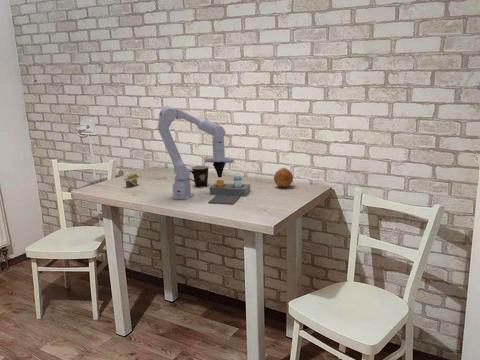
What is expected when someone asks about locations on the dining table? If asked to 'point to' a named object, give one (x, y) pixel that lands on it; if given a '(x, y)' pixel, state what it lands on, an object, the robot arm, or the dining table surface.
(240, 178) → the cylinder
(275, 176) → the onion
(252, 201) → the dining table surface
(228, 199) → the mat
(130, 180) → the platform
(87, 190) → the dining table surface
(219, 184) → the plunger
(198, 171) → the coffee mug
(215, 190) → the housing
